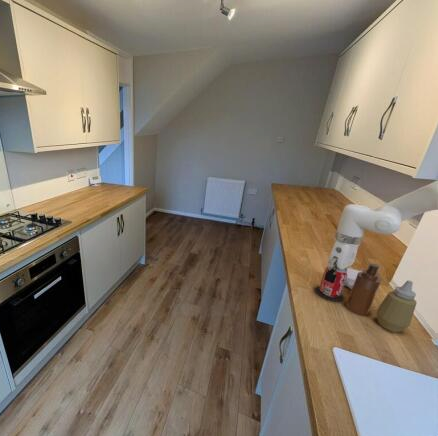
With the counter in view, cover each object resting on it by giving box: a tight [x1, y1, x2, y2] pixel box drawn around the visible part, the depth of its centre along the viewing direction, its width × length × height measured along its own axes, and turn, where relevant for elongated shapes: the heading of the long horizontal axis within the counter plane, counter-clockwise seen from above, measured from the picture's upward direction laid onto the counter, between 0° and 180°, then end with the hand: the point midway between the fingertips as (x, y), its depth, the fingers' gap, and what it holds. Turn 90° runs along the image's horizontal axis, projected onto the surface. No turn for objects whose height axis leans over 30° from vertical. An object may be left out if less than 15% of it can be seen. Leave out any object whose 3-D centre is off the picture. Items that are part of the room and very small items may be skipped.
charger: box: [344, 267, 363, 291], centre depth 100 cm, size 5×9×15 cm
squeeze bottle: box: [376, 279, 417, 333], centre depth 78 cm, size 8×8×18 cm
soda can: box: [319, 264, 347, 297], centre depth 94 cm, size 7×7×12 cm
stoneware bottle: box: [345, 262, 383, 316], centre depth 85 cm, size 6×6×19 cm
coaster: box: [315, 286, 344, 303], centre depth 96 cm, size 9×9×1 cm
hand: (334, 278), depth 93 cm, fingers closed on soda can, 7 cm apart
